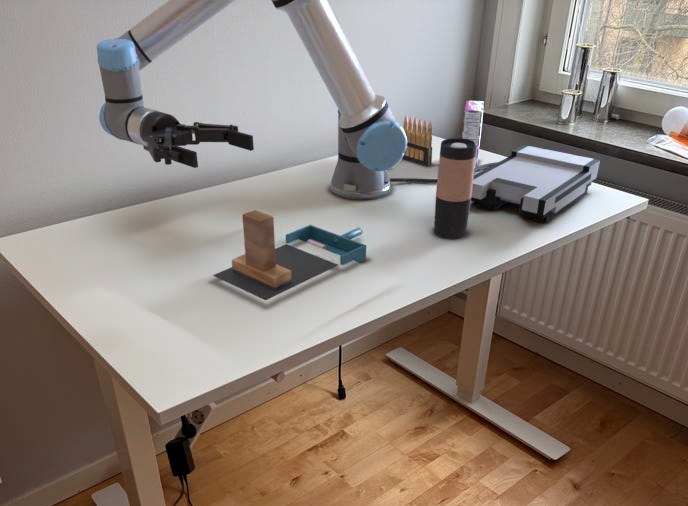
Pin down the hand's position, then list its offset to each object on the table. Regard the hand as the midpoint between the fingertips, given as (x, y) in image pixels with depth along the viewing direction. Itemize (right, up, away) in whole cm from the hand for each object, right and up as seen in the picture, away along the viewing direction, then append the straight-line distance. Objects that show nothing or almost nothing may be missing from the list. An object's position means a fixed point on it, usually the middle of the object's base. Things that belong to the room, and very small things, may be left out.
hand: (224, 151), depth 130 cm
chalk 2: (+18, -18, +13) cm, 29 cm away
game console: (+69, +1, +45) cm, 82 cm away
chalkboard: (+9, -22, +9) cm, 25 cm away
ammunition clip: (+43, +18, +70) cm, 84 cm away
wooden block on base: (+6, -23, +6) cm, 24 cm away
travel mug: (+46, -10, +28) cm, 55 cm away
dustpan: (+21, -15, +20) cm, 33 cm away
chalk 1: (+17, -14, +19) cm, 29 cm away
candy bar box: (+58, +16, +67) cm, 90 cm away
